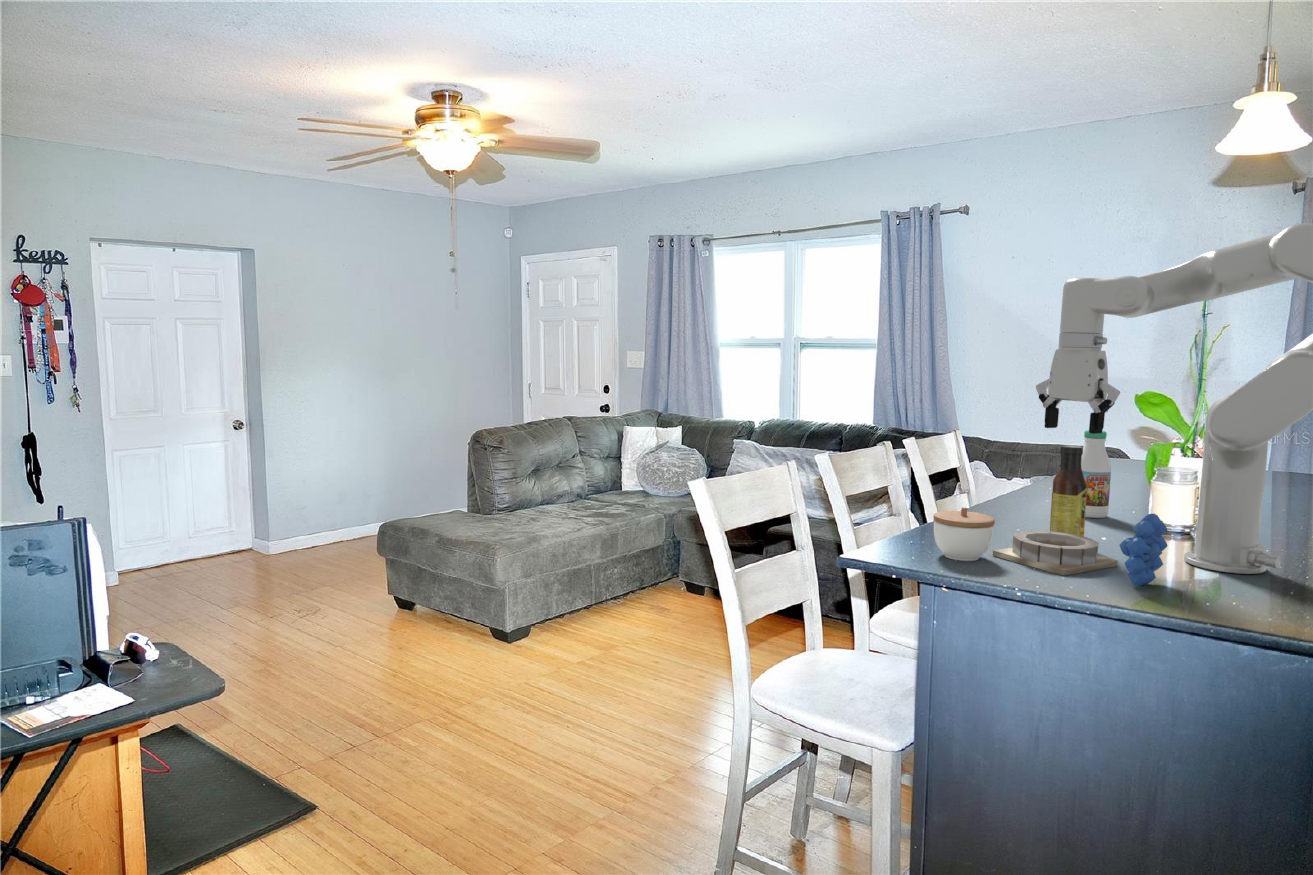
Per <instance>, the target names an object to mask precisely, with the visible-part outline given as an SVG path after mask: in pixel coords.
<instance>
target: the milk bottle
mask: <svg viewBox="0 0 1313 875" xmlns="http://www.w3.org/2000/svg"><path fill="white" fill-rule="evenodd" d="M1107 434H1108V433H1107V431H1105V430H1102V433H1096V434H1092V433H1089V429H1086V430H1084V433H1083V435H1084V436H1083V437H1084V438H1083V440H1084V445H1083V446H1082V447H1083V454H1082V458H1081V469H1082V472H1083V475H1084V479H1085V482H1086V486H1087V495H1086V513H1085V518H1092V519H1093V518H1095V519H1104V518H1107V517H1108V513H1109V505H1110V492H1111V491H1110V490H1111V480H1112V479H1111V478H1112V477H1111V476H1112V464H1111V460H1110V458H1109V455H1108V453H1107V450H1106V445H1105V443H1106V442H1107V439H1106V438H1107Z"/></svg>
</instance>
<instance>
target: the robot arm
mask: <svg viewBox="0 0 1313 875" xmlns="http://www.w3.org/2000/svg"><path fill="white" fill-rule="evenodd" d="M1296 279H1302V280H1304V281H1307V282H1309V283H1311V284H1313V223H1312V222H1301V223H1296V224H1293V225H1290V226H1289V227H1287V228H1285V229H1283V230H1282V231H1280V232H1277V233H1276V232H1275V233H1273V234H1269V235H1265V236H1262V237H1259V238H1255V239H1251V240H1248V241H1244V242H1241V243H1237V244H1234V245H1229V246H1225V247H1221V248H1217V249H1213V250H1211V251H1208V252H1205V253H1202V254H1200V255H1199V256H1196V257H1195V258H1193V259H1191V260H1189V261H1186V262H1184V263H1183V264H1179V265H1177V266H1174V267H1171V268H1168V269H1164V270H1161V271H1157V272H1153V273H1150V274H1145V275H1142V276H1134V275H1125V276H1118V277H1117V276H1115V277H1111V278H1110V277H1109V278H1096V277H1077V278H1070V279H1068V280H1067V281H1065V282H1064V284H1063V288H1062V299H1061V309H1060V325H1059V326H1060V327H1059V338H1058V347H1057V349H1055V351H1054V353H1053V357H1052V362H1051V365H1050V366H1051V367H1050V371H1049V378H1048V379H1046V380H1044V381H1042V382H1040V383H1038V384H1036V385H1035V390H1036V392H1037V394H1038V399H1039V400H1040V402H1041V403H1042V407H1043V408H1044V409H1045V411H1044V428H1046V429H1054V428H1055V429H1056V428H1058V425H1059V415H1060V409H1059V407H1057V406H1059V404H1060V403H1061V402H1062V401H1070V402H1082V403H1088V404H1089V406H1090V408H1091V409H1092V411H1093V412H1090V415H1089V426H1088V427H1089V428H1088V430H1089V433H1092V434H1096V433H1102V431H1104V426H1105V415H1106V413H1108V412H1109V410H1110V409H1111V408H1112V407H1113V406H1115V403H1116V401H1117V399H1118V398H1119V396H1120V395H1121V391H1120V390H1119V389H1117V388H1116V387H1114V386H1113V385H1111V384H1109V383H1108V382H1109V377H1108V376H1109V372H1108V371H1109V370H1108V367H1109V366H1108V359H1107V354H1106V350H1102V348H1103V345H1107V343H1108V337H1104V334H1103V333H1104V322H1105V315H1112V316H1119V317H1122V318H1125V319H1126V318H1127V319H1132V318H1138V317H1141V316H1146V315H1149V314H1153V313H1157V312H1161V311H1167V310H1171V309H1174V308H1178V307H1182V306H1186V305H1191V304H1194V303H1199V302H1206V301H1212V300H1213V301H1214V300H1216V299H1220V298H1224V297H1228V296H1232V295H1235V294H1239V293H1244V292H1247V291H1251V290H1255V289H1256V290H1257V289H1261V288H1263V287H1267V286H1271V285H1277V284H1280V283H1284V282H1285V283H1286V282H1289V281H1292V280H1296ZM1047 391H1048V392H1047ZM1311 412H1313V333H1311V334H1310V335H1308V336H1307V337H1306V338H1304V339H1303V340H1302V341H1300V342H1299V343H1298V344H1296V345H1295V346H1294V347H1292V348H1291V349H1289V350H1288V351H1286V352H1285V353H1282V354H1280V355H1278V356H1277V357H1275V358H1274V359H1273V360H1271V361H1270V363H1269V364H1268V365H1267V366H1266V367H1265V369H1264V370H1262V371H1261V372H1259V373H1258V374H1256V375H1255V376H1254V377H1253V378H1252V379H1250V380H1249V381H1248V382H1246V383H1245V384H1244V385H1242V386H1240V387H1239V388H1238V389H1236V390H1235V391H1234V392H1233V393H1228V394H1225V395H1223V396H1221V397H1219V398H1218V399H1217V400H1215V401H1214V402H1213V403H1212V404H1211V405H1210V407H1209V409H1208V410H1207V413H1206V417H1205V424H1204V425H1205V426H1204V444H1203V457H1202V468H1201V478H1200V486H1199V488H1200V489H1199V497H1198V498H1199V499H1198V509H1197V511H1198V512H1197V519H1196V520H1197V521H1196V529H1195V530H1196V531H1195V532H1196V533H1195V540H1194V542H1195V543H1194V550H1192V551H1190V550H1189V551H1187V552H1185V553H1184V554H1183V560H1184V562H1186V563H1188V564H1190V565H1191V566H1192V565H1193V566H1195V567H1197V568H1201V569H1205V570H1210V571H1214V572H1215V571H1216V572H1222V573H1230V574H1240V575H1241V574H1242V575H1255V574H1257V575H1258V574H1262V573H1265V572H1267V567H1269V568H1274V569H1279V568H1280V567H1281V563H1282V560H1281V557H1280V555H1275V554H1269V553H1267V552H1266V551H1265V545H1263V544H1260V543H1259V540H1260V529H1261V519H1262V511H1263V510H1262V509H1263V501H1264V492H1265V490H1264V489H1265V483H1266V474H1267V459H1268V451H1269V450H1268V447H1269V441H1271V440H1272V439H1274V438H1275V437H1277V436H1278V435H1279V434H1281V433H1283V432H1284V431H1285V430H1287V429H1288V428H1290V427H1291V426H1293V425H1294V424H1296V423H1297V422H1298V421H1300V420H1301V419H1303V418H1304V417H1305V416H1307V415H1308V414H1310V413H1311Z"/></svg>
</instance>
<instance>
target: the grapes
mask: <svg viewBox="0 0 1313 875" xmlns="http://www.w3.org/2000/svg"><path fill="white" fill-rule="evenodd" d="M1132 529H1133V531H1134V533H1135V535H1134V536H1133V537H1127V538H1126V539H1124V540H1122V542H1120V544H1119V549H1120V551H1121V553H1122V554H1123V555H1124V556H1127V557H1128V559H1127V560H1126V561H1124V566H1125V568H1126V570H1127V576H1128V579H1129V581H1130V582H1131V584H1132V585H1134V586H1135V587H1137V586H1138V587H1139V586H1142V585H1148V584H1150V583H1152V582H1153V581H1154V580H1155V579H1156V578H1157V576H1156V574H1155V572H1156V571H1157V570H1159V569H1160V568H1162V567H1163V566H1164V563H1163V560H1162V558H1161V555H1162V554H1163V551H1164V550H1165V549H1167V547H1168V543H1167V542H1166V539H1165V538H1164V536H1163V535H1164V534H1165V533H1166V532H1167V531H1168V528H1167V526H1166V524H1165V523H1164V521H1163V520H1162V519H1160V517H1159V516H1158V514H1156V513H1149V514H1146V515H1145V516H1144V517H1143V518H1142V519H1140V521H1139V522H1137V523H1136V524H1135V525H1134V526H1133V527H1132Z"/></svg>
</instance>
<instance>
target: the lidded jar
mask: <svg viewBox="0 0 1313 875" xmlns="http://www.w3.org/2000/svg"><path fill="white" fill-rule="evenodd" d="M995 521H996V520H995V518H994V517H992V516H991V515H988V514H984V513H980V512H974V511H968V507H966V506H964V507H961V510H942V511H936V512H935V513H934V514H933V536H934V540H935V544H936V546H937V548H939V550H940V552H942V553H943V554H944V557H945V558H947V559H950V560H955V561H959V562H975V561H977V560H978V561H979V559H980V557H981V556H983V555H984V554H985V553H986V552H987V551H988V550H989V548H990V546H991V544H992V540H993V535H994V526H995Z"/></svg>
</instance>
